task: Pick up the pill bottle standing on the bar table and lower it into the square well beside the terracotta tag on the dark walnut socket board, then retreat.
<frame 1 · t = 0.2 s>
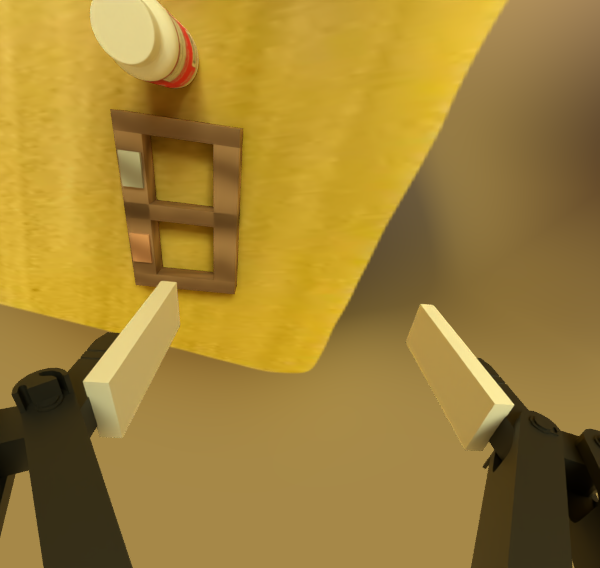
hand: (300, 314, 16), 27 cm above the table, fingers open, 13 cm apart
pill bottle: (171, 56, 32), on the table
socket board: (187, 211, 40), on the table
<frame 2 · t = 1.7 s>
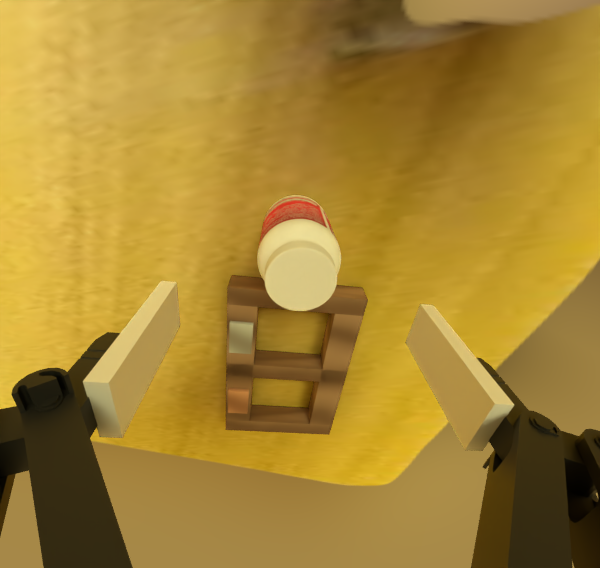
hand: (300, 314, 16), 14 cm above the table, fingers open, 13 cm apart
pill bottle: (296, 225, 28), on the table
socket board: (287, 358, 37), on the table
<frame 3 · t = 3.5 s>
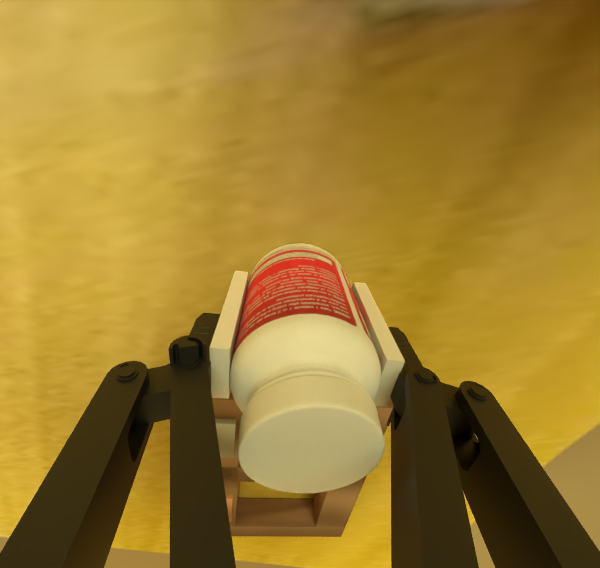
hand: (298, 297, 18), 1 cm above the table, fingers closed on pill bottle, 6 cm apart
pill bottle: (298, 284, 19), on the table, touching gripper
socket board: (285, 447, 27), on the table
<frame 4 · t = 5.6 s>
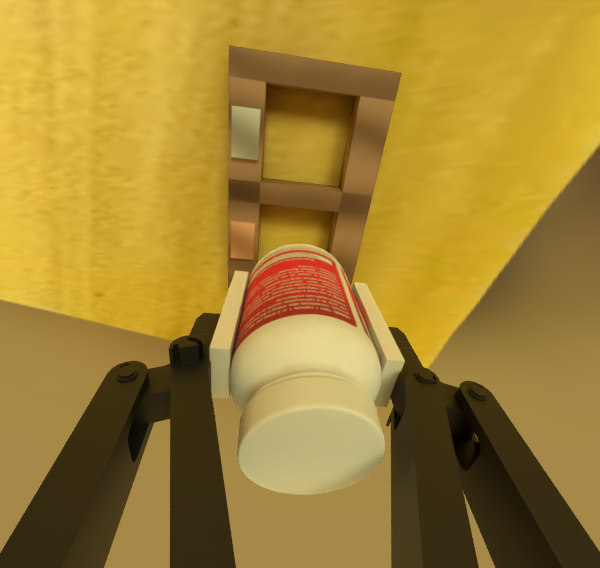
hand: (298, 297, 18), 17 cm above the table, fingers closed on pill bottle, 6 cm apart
pill bottle: (297, 284, 19), point 15 cm above the table, touching gripper
socket board: (299, 192, 31), on the table
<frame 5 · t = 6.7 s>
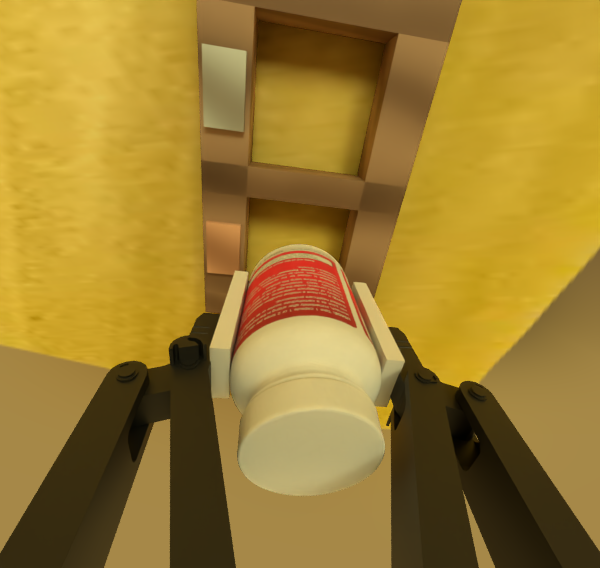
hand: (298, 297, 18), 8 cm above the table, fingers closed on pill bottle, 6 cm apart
pill bottle: (297, 284, 19), point 7 cm above the table, touching gripper
socket board: (303, 182, 22), on the table
when the fingers open (4 cm above the table, at t = 7.8 s): pill bottle drops 3 cm, resting in socket board.
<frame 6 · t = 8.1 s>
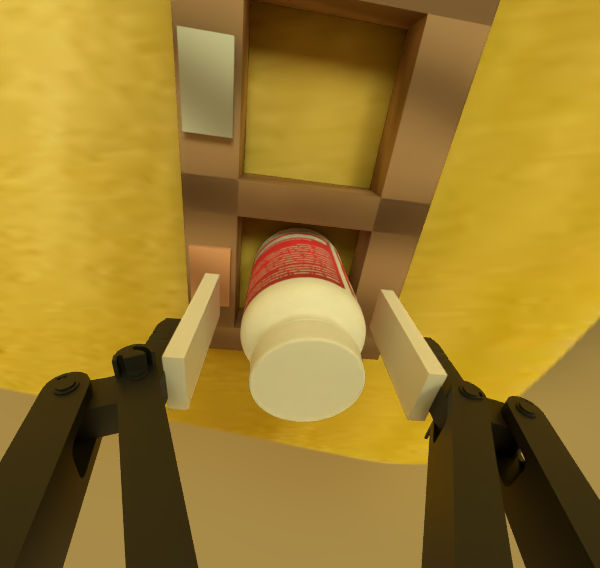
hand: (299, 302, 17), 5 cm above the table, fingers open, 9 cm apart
pill bottle: (297, 265, 22), resting in socket board
socket board: (306, 197, 19), on the table
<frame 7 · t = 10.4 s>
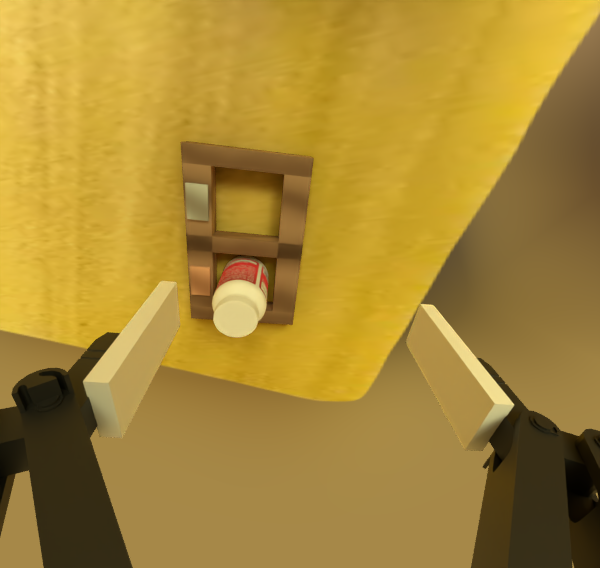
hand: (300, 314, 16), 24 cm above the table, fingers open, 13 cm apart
pill bottle: (246, 274, 41), resting in socket board
socket board: (247, 240, 38), on the table
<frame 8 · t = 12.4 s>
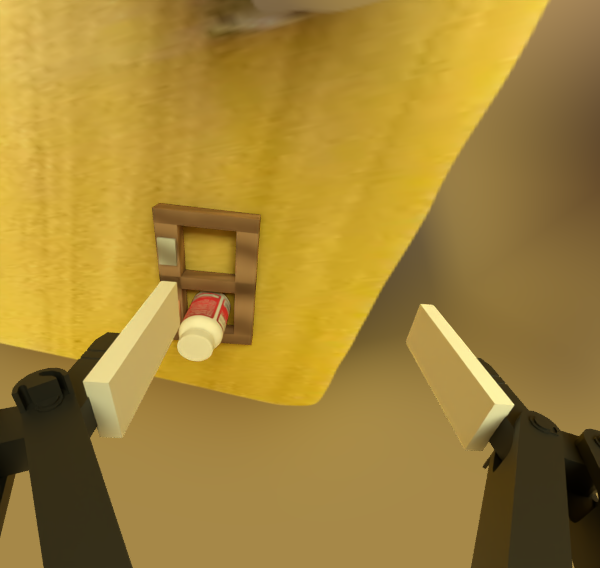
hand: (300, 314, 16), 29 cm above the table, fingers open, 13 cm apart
pill bottle: (212, 303, 49), resting in socket board
socket board: (211, 277, 47), on the table
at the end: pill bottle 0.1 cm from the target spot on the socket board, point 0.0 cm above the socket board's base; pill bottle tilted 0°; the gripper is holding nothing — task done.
